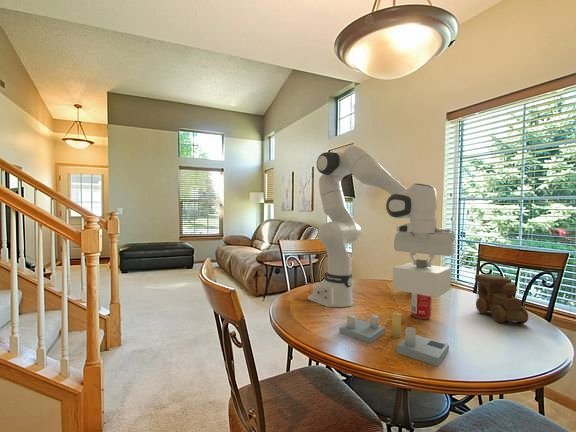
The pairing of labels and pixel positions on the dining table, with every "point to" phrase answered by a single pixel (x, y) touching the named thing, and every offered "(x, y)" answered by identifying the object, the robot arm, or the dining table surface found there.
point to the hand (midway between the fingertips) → (422, 265)
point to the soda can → (421, 306)
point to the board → (362, 328)
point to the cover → (422, 278)
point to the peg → (396, 325)
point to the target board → (422, 348)
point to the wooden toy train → (499, 299)
